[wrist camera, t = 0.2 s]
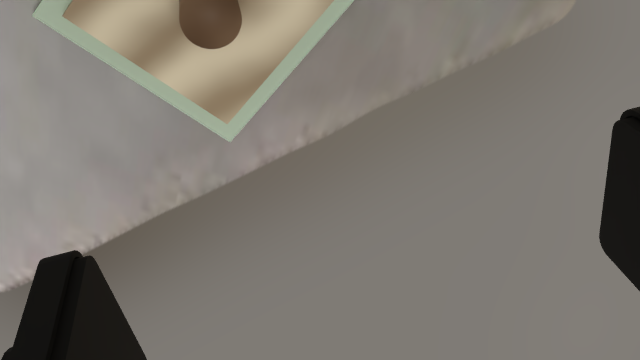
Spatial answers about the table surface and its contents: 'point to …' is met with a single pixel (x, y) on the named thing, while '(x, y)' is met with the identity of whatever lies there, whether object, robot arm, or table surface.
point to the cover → (201, 42)
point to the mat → (51, 15)
